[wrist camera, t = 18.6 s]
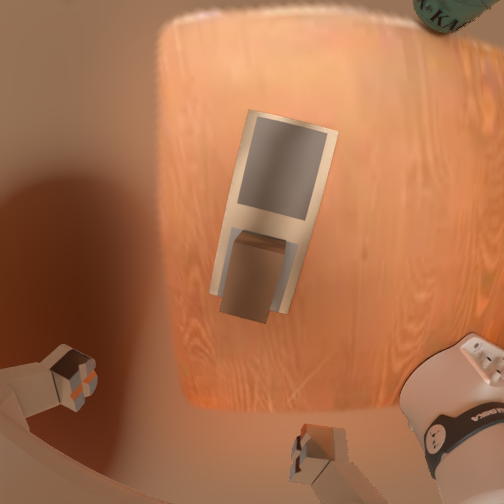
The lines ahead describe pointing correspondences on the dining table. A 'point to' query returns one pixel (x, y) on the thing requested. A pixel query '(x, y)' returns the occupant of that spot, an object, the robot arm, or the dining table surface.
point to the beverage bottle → (450, 12)
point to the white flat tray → (276, 194)
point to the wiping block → (252, 275)
